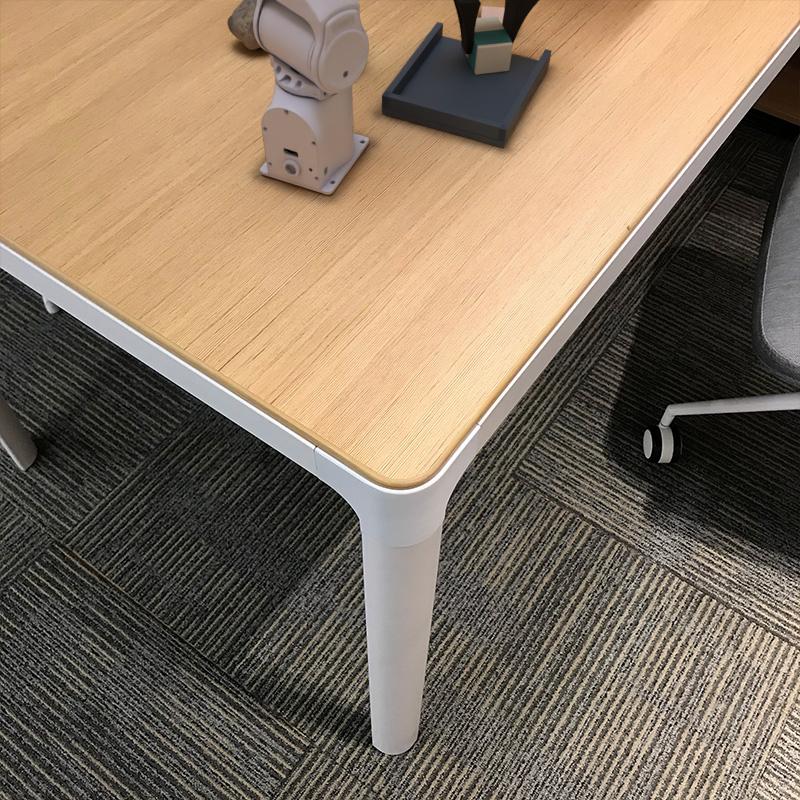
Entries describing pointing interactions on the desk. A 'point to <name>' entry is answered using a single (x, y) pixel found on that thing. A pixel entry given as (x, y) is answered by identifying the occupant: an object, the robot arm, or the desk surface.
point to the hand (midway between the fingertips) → (486, 47)
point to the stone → (244, 23)
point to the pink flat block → (492, 12)
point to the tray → (462, 91)
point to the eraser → (490, 47)
